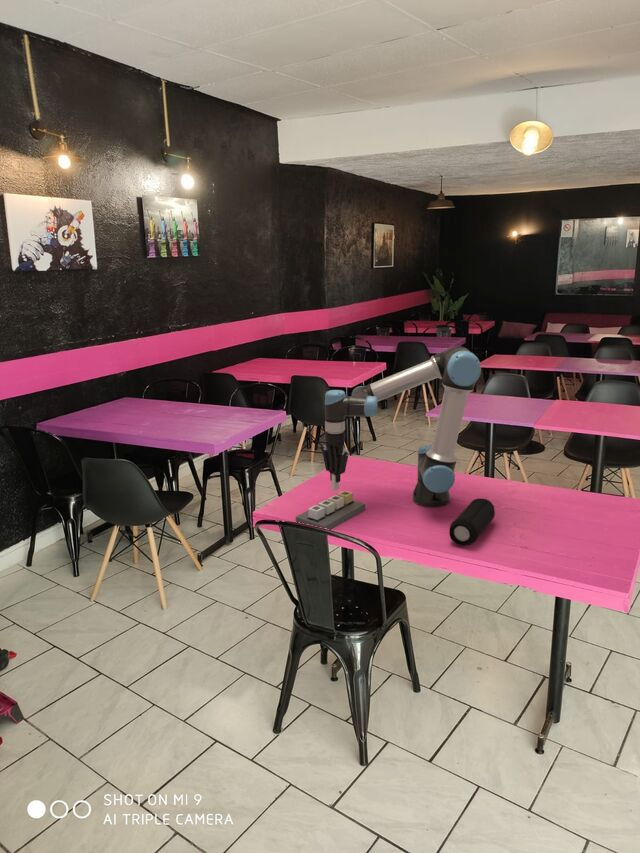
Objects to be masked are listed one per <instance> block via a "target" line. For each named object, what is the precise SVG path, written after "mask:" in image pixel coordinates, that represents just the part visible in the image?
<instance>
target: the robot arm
mask: <svg viewBox="0 0 640 853" xmlns="http://www.w3.org/2000/svg"><path fill="white" fill-rule="evenodd" d="M481 372H482V366H481V361H480V359H479V358H478V356H477V355H475V354H474V352H471V350H469V349H468V348H466V347H464V346H461V345H459V346H453V347H449V348H448V349H445V350H443V351H440V352H438V353H436V354H434V355H432V356H431V357H430V359H428V360H426V361H424V362H421V363H418V364H416V365H413V366H412V367H409V368H406V369H404V370H402V371H399V372H395V373H394V374H391V375H389V376H386V377H384V378H382V379H380V380H377V381H374V382H372V383H369V384H366V385H365V386H362V385H361V386H357V387H355V388H354V389H353V390H352V392H351V396H350V395H349V396H348V395H346V392H345V391H344V390H342V389H331V390H328V391H326V392H325V395H324V398H325V399H324V416H325V417H324V419H325V421H324V430H325V433H324V435H325V436H324V440H325V444H324V445H321V446H320V451H321V452H322V456H323V461H324V466H325V470H326V472H329V477H330V481H331V490H332V491H337V490H339V489H340V482H341V475H342V474H344V473H346V468H347V464H348V460H349V456H350V454H351V451H350V450H347V449H346V445H345V441H346V432H345V430H346V417H367V418H368V417H375V416H377V415H378V402H380V401H383V400H387V399H388V398H390V397H392V396H395V395H398V394H401V393H403V392H405V391H408V390H411V389H412V388H416V387H418V386H420V385H423V384H425V383H428V382H430V381H433V380H436V379H440V380H442V382H441V385H442V386H443V388H444V391H443V395H442V401H441V405H440V407H439V408H440V409H439V414H438V418H437V422H436V427H435V431H434V435H433V441H432V444H427V445H422V446H419V447H418V452H417V481H416V484H415V487H414V490H413V491H412V501H413V502H414V503H415V504H417V505H419V506H423V507H428V508H430V507H431V508H438V507H439V508H441V507H444V506H447V505H448V504H449V503H450V501H451V494H450V489H452V488H453V486H454V485H455V482H456V475H455V469H456V468H455V467H456V464H457V461H458V459H457V457H456V455H455V450H456V446H457V442H458V439H459V438H458V437H459V433H460V430H461V427H462V425H461V424H462V421H463V417H464V412H465V410H466V408H465V407H466V404H467V400H468V395H469V394H470V393H471V392H472V393H473V391H474V390H475V389H474V388H475V385H476V382H477V381H478V380H479V378H480V376H481Z"/></svg>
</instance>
